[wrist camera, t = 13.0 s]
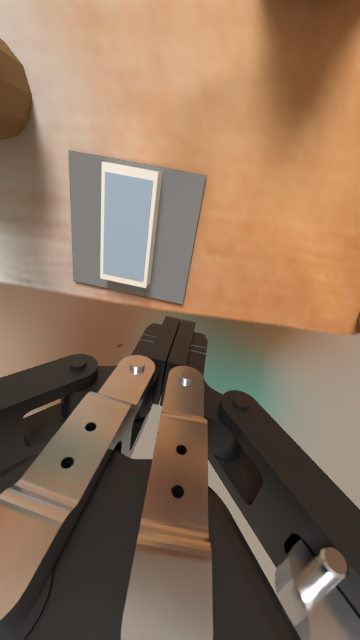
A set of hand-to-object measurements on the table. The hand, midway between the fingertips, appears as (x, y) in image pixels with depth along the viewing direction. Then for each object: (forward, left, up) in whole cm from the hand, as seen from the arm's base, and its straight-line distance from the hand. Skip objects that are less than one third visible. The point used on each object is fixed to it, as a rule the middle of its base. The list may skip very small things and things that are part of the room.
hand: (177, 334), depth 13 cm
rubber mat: (+11, +2, -27) cm, 29 cm away
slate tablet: (+11, +9, -25) cm, 29 cm away
